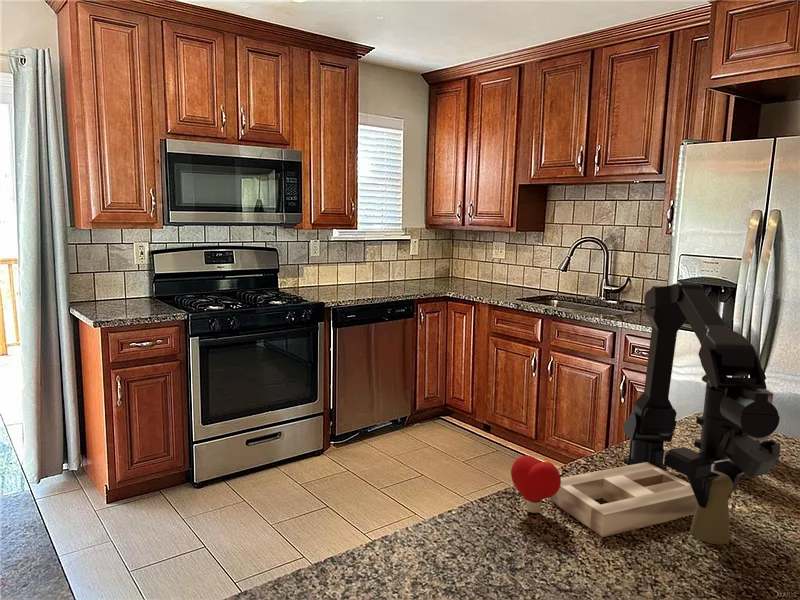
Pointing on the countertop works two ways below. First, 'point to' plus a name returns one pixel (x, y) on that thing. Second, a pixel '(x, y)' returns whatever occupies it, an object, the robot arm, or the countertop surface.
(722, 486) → the cork
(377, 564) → the countertop surface
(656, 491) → the socket board
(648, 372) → the robot arm
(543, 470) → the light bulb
